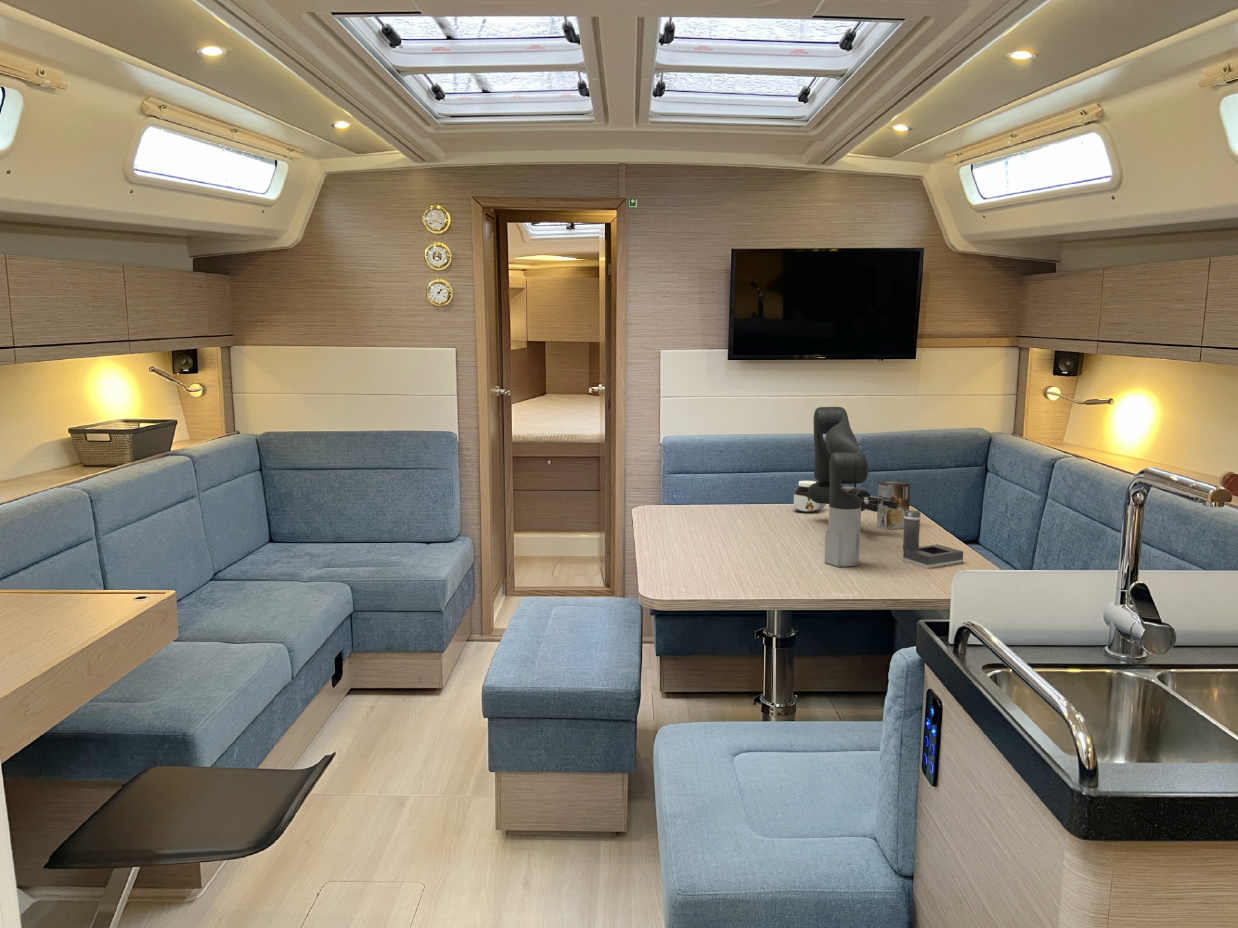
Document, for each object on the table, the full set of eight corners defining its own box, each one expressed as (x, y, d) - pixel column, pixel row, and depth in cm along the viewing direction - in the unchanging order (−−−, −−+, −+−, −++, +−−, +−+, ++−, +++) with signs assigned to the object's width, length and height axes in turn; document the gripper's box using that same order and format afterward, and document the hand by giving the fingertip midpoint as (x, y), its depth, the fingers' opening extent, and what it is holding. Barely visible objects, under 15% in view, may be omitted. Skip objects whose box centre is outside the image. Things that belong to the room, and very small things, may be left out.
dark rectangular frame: (928, 568, 259) (928, 556, 259) (902, 560, 268) (903, 549, 267) (962, 562, 265) (963, 551, 265) (937, 555, 274) (937, 544, 274)
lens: (910, 551, 279) (912, 513, 277) (899, 547, 284) (900, 511, 282) (922, 549, 281) (924, 512, 280) (910, 546, 286) (912, 509, 284)
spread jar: (792, 513, 338) (793, 483, 336) (795, 507, 349) (796, 478, 347) (824, 515, 335) (825, 484, 333) (826, 509, 345) (827, 479, 344)
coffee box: (898, 524, 317) (900, 480, 315) (909, 528, 311) (911, 483, 309) (875, 526, 315) (877, 481, 313) (885, 530, 309) (887, 484, 306)
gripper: (837, 489, 302) (870, 498, 287) (869, 485, 308) (904, 494, 294) (836, 511, 303) (869, 520, 288) (868, 507, 309) (902, 516, 295)
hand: (887, 507), depth 291 cm, fingers open, 8 cm apart
